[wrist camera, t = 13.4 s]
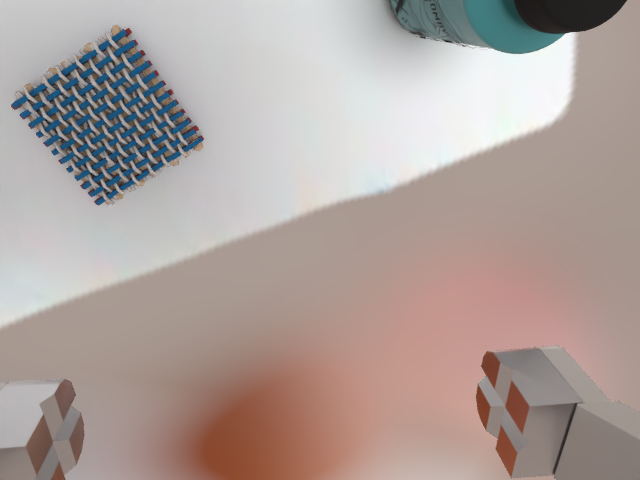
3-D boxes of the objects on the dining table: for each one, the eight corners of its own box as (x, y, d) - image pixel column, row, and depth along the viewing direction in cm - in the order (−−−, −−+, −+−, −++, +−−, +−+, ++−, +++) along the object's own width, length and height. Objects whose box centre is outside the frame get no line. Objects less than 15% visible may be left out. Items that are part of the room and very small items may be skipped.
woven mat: (9, 96, 36) (-4, 101, 34) (125, 18, 34) (118, 19, 32) (105, 207, 40) (97, 216, 38) (211, 142, 39) (208, 149, 37)
